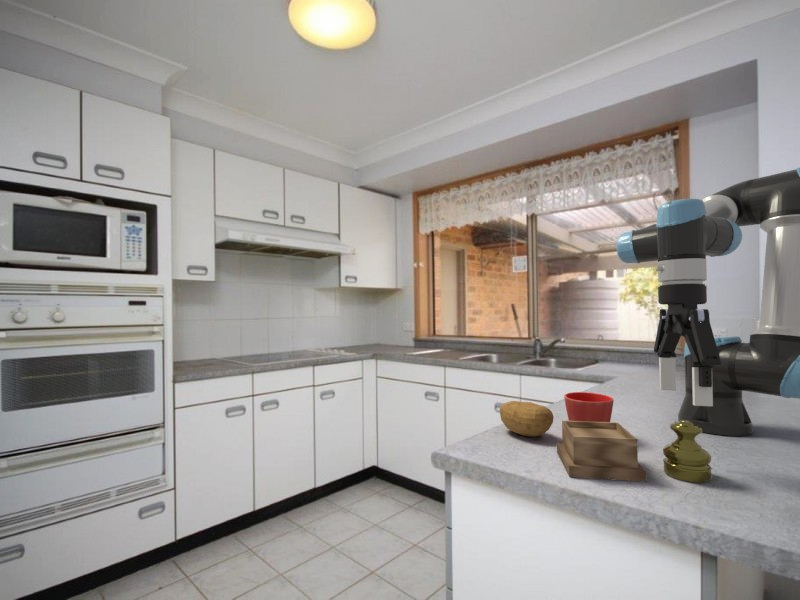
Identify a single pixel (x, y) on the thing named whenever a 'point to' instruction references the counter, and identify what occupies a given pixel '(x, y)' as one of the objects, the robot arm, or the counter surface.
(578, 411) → the flower pot
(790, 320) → the robot arm
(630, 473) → the brown wooden square box
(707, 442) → the counter surface
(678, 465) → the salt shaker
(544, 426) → the potato
